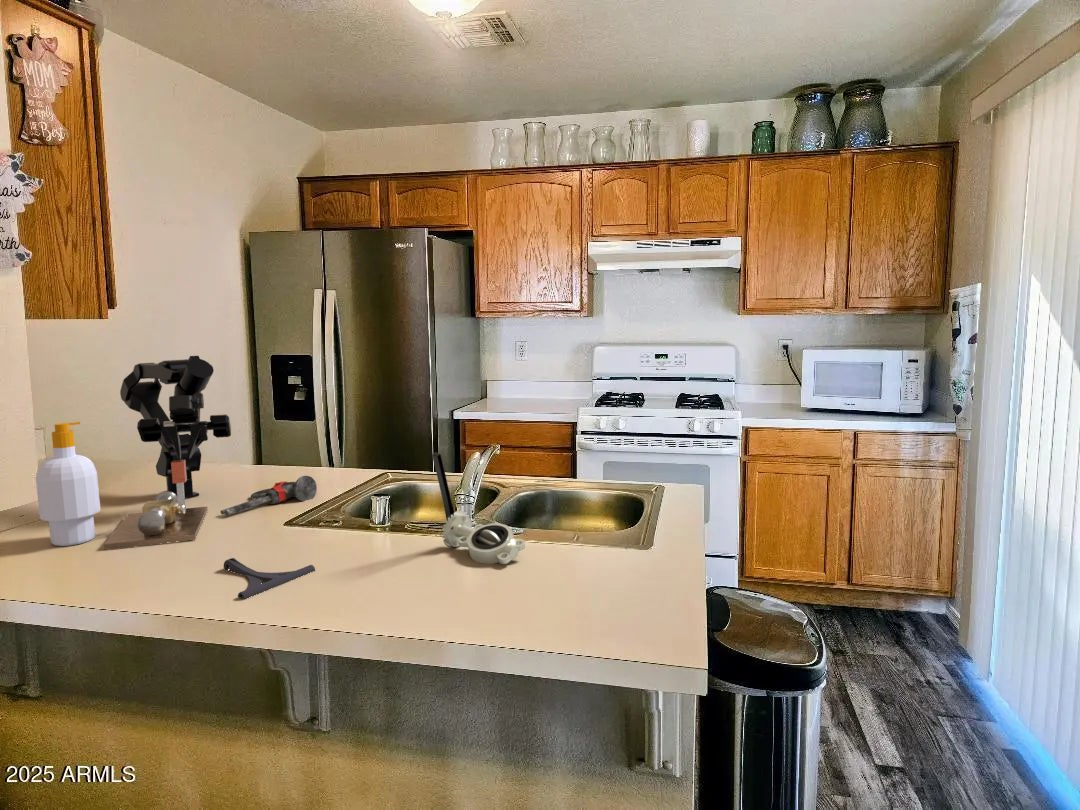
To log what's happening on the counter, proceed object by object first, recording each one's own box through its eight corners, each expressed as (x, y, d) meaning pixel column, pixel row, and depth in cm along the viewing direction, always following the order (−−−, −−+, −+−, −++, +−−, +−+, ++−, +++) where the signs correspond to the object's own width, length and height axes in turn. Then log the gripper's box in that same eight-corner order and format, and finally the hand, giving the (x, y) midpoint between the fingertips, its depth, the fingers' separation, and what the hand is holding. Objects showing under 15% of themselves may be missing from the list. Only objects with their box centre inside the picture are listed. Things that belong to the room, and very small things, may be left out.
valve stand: (129, 518, 155) (127, 492, 154) (207, 511, 160) (205, 485, 160) (104, 550, 135) (101, 519, 134) (195, 540, 140) (192, 510, 139)
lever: (177, 512, 149) (172, 460, 148) (189, 511, 150) (185, 459, 149) (175, 515, 147) (171, 462, 145) (187, 514, 148) (183, 461, 146)
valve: (291, 494, 183) (330, 493, 175) (201, 525, 161) (241, 526, 153) (286, 471, 182) (325, 469, 175) (195, 499, 160) (235, 498, 153)
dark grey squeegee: (261, 559, 131) (260, 545, 130) (315, 574, 123) (314, 559, 123) (189, 586, 118) (188, 570, 118) (244, 604, 111) (243, 587, 110)
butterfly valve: (533, 553, 130) (468, 528, 140) (517, 462, 121) (449, 442, 132) (503, 580, 124) (437, 551, 134) (484, 486, 115) (416, 463, 126)
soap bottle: (110, 540, 140) (98, 423, 137) (49, 553, 133) (36, 430, 130) (95, 529, 147) (84, 418, 144) (37, 541, 140) (24, 424, 137)
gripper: (135, 383, 154) (128, 440, 145) (226, 380, 160) (225, 434, 151) (145, 413, 162) (139, 469, 153) (231, 409, 168) (230, 462, 160)
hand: (183, 458), depth 154 cm, fingers closed
